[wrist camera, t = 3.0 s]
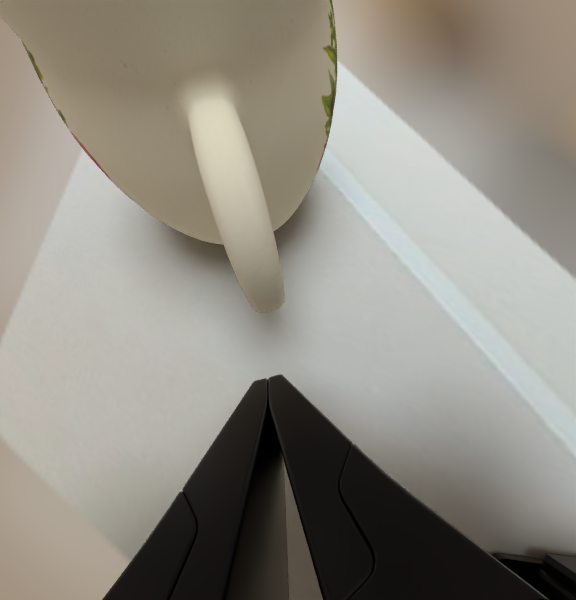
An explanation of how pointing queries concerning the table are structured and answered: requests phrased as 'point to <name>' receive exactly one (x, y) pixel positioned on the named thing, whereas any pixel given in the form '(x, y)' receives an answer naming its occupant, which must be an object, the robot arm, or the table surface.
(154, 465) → the table surface
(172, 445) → the table surface
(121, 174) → the pitcher
